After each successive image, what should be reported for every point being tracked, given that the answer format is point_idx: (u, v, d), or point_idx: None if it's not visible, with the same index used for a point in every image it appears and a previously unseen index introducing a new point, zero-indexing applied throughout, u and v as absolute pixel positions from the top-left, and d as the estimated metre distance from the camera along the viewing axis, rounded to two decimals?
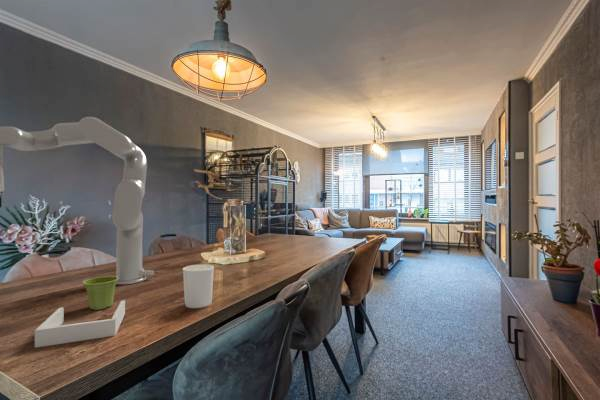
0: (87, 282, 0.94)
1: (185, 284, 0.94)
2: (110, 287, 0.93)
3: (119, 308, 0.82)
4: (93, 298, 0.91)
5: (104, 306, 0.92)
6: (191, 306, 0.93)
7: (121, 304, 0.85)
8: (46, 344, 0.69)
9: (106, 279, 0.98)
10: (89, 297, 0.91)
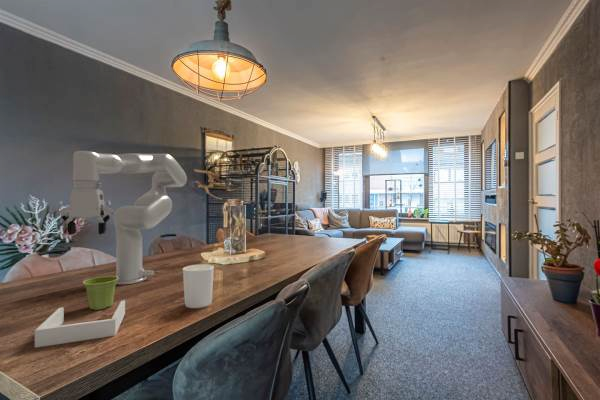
0: (87, 282, 0.94)
1: (185, 284, 0.94)
2: (110, 287, 0.93)
3: (119, 308, 0.82)
4: (93, 298, 0.91)
5: (104, 306, 0.92)
6: (191, 306, 0.93)
7: (121, 304, 0.85)
8: (46, 344, 0.69)
9: (106, 279, 0.98)
10: (89, 297, 0.91)
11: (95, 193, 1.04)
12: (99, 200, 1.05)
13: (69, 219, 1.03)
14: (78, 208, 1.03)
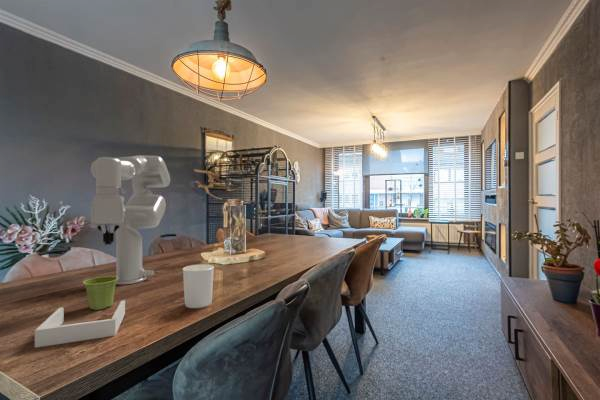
0: (87, 282, 0.94)
1: (185, 284, 0.94)
2: (110, 287, 0.93)
3: (119, 308, 0.82)
4: (93, 298, 0.91)
5: (104, 306, 0.92)
6: (191, 306, 0.93)
7: (121, 304, 0.85)
8: (46, 344, 0.69)
9: (106, 279, 0.98)
10: (89, 297, 0.91)
11: (119, 200, 1.05)
12: (123, 206, 1.05)
13: (103, 228, 1.03)
14: (102, 215, 1.02)
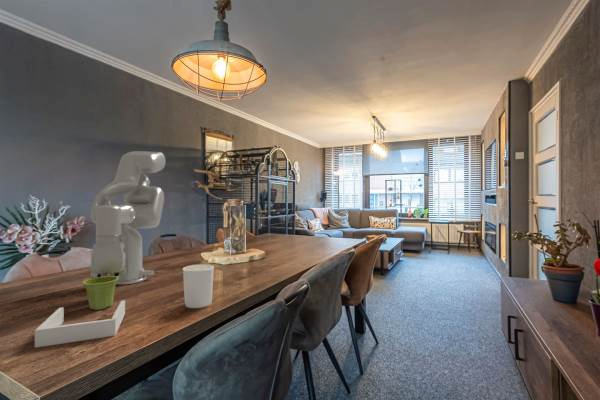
0: (87, 282, 0.94)
1: (185, 284, 0.94)
2: (110, 287, 0.93)
3: (119, 308, 0.82)
4: (93, 298, 0.91)
5: (104, 306, 0.92)
6: (191, 306, 0.93)
7: (121, 304, 0.85)
8: (46, 344, 0.69)
9: (106, 279, 0.98)
10: (89, 297, 0.91)
11: (119, 247, 1.05)
12: (123, 254, 1.05)
13: None
14: (102, 263, 1.02)
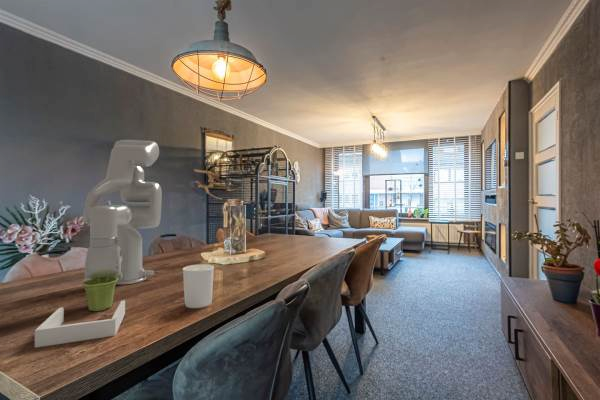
0: (86, 283, 0.93)
1: (185, 284, 0.94)
2: (110, 288, 0.92)
3: (119, 308, 0.82)
4: (92, 299, 0.90)
5: (104, 307, 0.91)
6: (191, 306, 0.93)
7: (121, 304, 0.85)
8: (46, 344, 0.69)
9: (105, 280, 0.97)
10: (88, 298, 0.90)
11: (115, 251, 0.98)
12: (119, 258, 0.99)
13: None
14: (96, 268, 0.95)
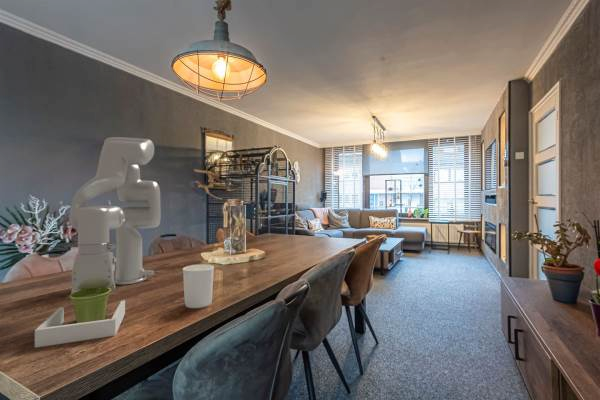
0: (74, 295, 0.81)
1: (185, 284, 0.94)
2: (102, 300, 0.81)
3: (119, 308, 0.82)
4: (82, 314, 0.78)
5: None
6: (191, 306, 0.93)
7: (121, 304, 0.85)
8: (46, 344, 0.69)
9: (95, 291, 0.86)
10: (77, 313, 0.78)
11: (107, 258, 0.86)
12: (112, 266, 0.87)
13: None
14: (85, 278, 0.84)
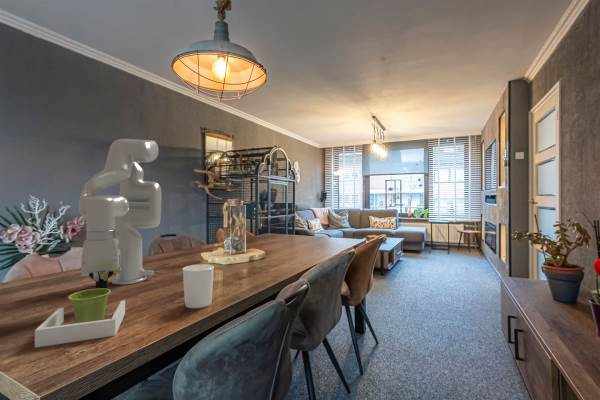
0: (72, 297, 0.80)
1: (185, 284, 0.94)
2: (102, 301, 0.80)
3: (119, 308, 0.82)
4: (81, 316, 0.77)
5: None
6: (191, 306, 0.93)
7: (121, 304, 0.85)
8: (46, 344, 0.69)
9: (94, 292, 0.85)
10: (76, 315, 0.77)
11: (113, 244, 0.94)
12: (117, 251, 0.95)
13: (95, 276, 0.93)
14: (94, 262, 0.92)
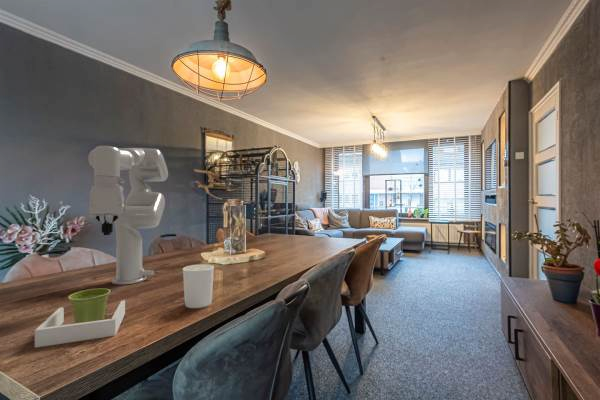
0: (72, 297, 0.80)
1: (185, 284, 0.94)
2: (102, 301, 0.80)
3: (119, 308, 0.82)
4: (81, 316, 0.77)
5: None
6: (191, 306, 0.93)
7: (121, 304, 0.85)
8: (46, 344, 0.69)
9: (94, 292, 0.85)
10: (76, 315, 0.77)
11: (118, 189, 1.02)
12: (122, 196, 1.03)
13: (102, 219, 1.01)
14: (100, 204, 1.00)
